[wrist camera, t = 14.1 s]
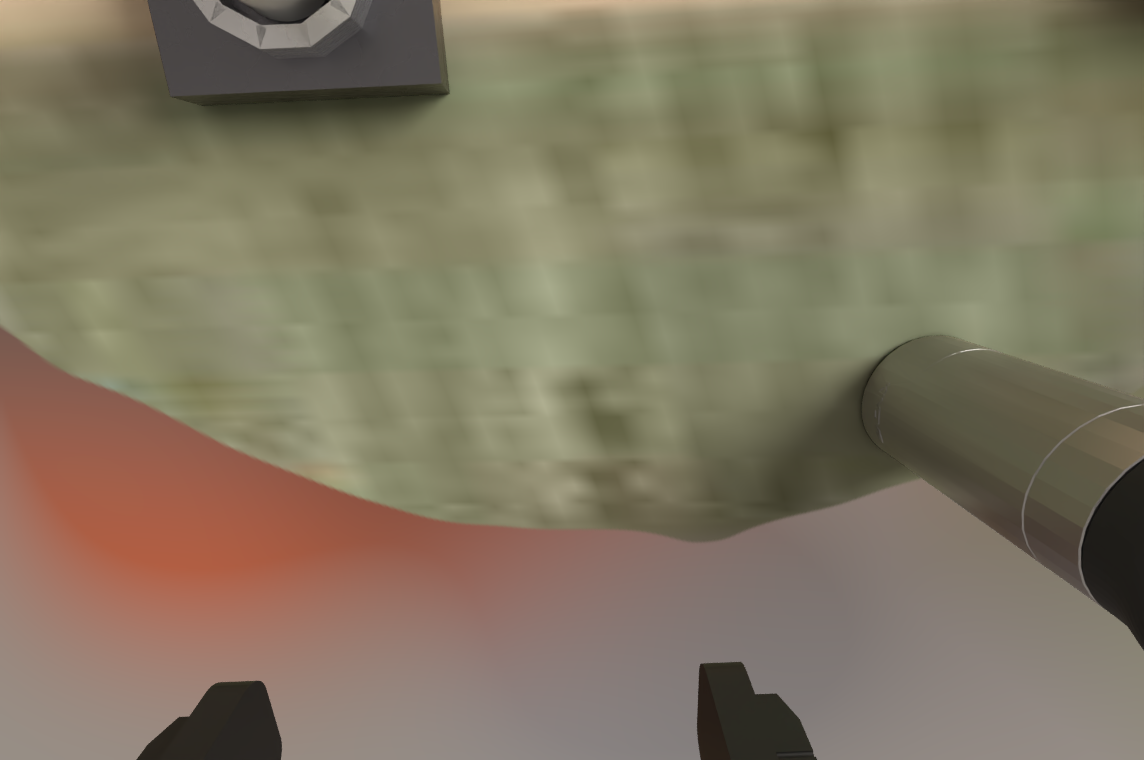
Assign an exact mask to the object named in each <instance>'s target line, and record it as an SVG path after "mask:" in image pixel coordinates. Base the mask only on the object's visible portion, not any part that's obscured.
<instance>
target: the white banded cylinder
mask: <svg viewBox="0 0 1144 760" xmlns="http://www.w3.org/2000/svg"><path fill="white" fill-rule="evenodd" d="M239 1H240V2H242V3H243V4H245V5H246V6H248V7H249V8H250V9H252V10H253V11H255V12H257V13H258V14H260V15H262V16H264V17H266V18H269V19H272V20H277V21H286V22H289V21H297V20H300V19H303V18H306V17H308V16H310V15H311V14H313V13H314V12H315V11H317V10H318V9H319V8H320V7H321V5H322V4H323V3H324V2H325V0H239Z"/></svg>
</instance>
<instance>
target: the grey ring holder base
mask: <svg viewBox="0 0 1144 760" xmlns="http://www.w3.org/2000/svg"><path fill="white" fill-rule="evenodd" d="M148 4H149V9H150V13H151V17H152V21H153V25H154V30H155V34H156V38H157V42H158V46H159V50H160V55H161V59H162V63H163V67H164V71H165V76H166V80H167V84H168V88H169V92H170V96H171V97H174V98H177V99H181V100H184V101H188V102H191V103H195V104H198V105H202V106H208V105H228V104H249V103H269V102H289V101H310V100H330V99H350V98H371V97H391V96H411V95H431V94H450V93H449V83H448V74H447V65H446V55H445V46H444V37H443V27H442V18H441V9H440V0H325V2H324V3H323V4H322V5H321V7H320V8H319V9H318V10H317V11H315V12H314V13H313V14H311V15H310V16H308V17H306V18H303V19H300V20H297V21H289V22H286V21H277V20H272V19H269V18H266V17H264V16H262V15H260V14H258V13H257V12H255V11H253V10H252V9H250V8H249V7H248V6H246V5H245V4H243V3H242V2H240V1H239V0H148Z"/></svg>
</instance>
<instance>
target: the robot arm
mask: <svg viewBox="0 0 1144 760" xmlns="http://www.w3.org/2000/svg"><path fill="white" fill-rule="evenodd" d="M862 419H863V423H864V427H865V429H866V431H867V433H868V435H869V437H870V439H871V440H872V441H873V442H874V443H875V444H876V445H877V446H878V447H879V448H881V449H882V450H883V451H885V452H886V453H888V454H889V455H890V456H892V457H893V458H895V459H896V460H897V461H899V462H900V463H901V464H903V465H904V466H906V467H907V468H908V469H910V470H911V471H912V472H914V473H915V474H916V475H918V476H919V477H920V478H922V479H923V480H925V481H926V482H927V483H929V484H930V485H932V486H933V487H934V488H936V489H937V490H939V491H940V492H941V493H943V494H944V495H946V496H947V497H948V498H950V499H951V500H953V501H954V502H955V503H957V504H958V505H960V506H961V507H962V508H964V509H965V510H967V511H968V512H969V513H971V514H972V515H973V516H975V517H976V518H978V519H979V520H980V521H982V522H983V523H985V524H986V525H988V526H989V527H990V528H992V529H993V530H995V531H996V532H997V533H999V534H1000V535H1001V536H1003V537H1004V538H1006V539H1007V540H1009V541H1010V542H1011V543H1013V544H1014V545H1015V546H1017V547H1018V548H1020V549H1021V550H1023V551H1024V552H1025V553H1027V554H1028V555H1029V556H1031V557H1032V558H1034V559H1035V560H1036V561H1038V562H1039V563H1041V564H1042V565H1043V566H1045V567H1046V568H1048V569H1049V570H1051V571H1052V572H1054V573H1055V574H1056V575H1058V576H1059V577H1060V578H1062V579H1063V580H1065V581H1066V582H1068V583H1069V584H1070V585H1072V586H1073V587H1074V588H1076V589H1077V590H1079V591H1080V592H1082V593H1083V594H1084V595H1086V596H1087V597H1088V598H1090V599H1091V600H1093V601H1094V602H1096V603H1097V604H1098V605H1100V606H1101V607H1103V608H1104V609H1106V610H1107V611H1109V612H1110V613H1111V614H1112V615H1114V616H1115V617H1117V618H1118V619H1119V620H1120V621H1122V622H1123V623H1124V624H1125V625H1127V626H1128V628H1129V629H1130V630H1131V632H1132V634H1133V635H1134V637H1135V638H1136V640H1137V641H1138V643H1139V644H1140V646H1141V647H1142V648H1143V650H1144V399H1142V398H1139V397H1136V396H1133V395H1130V394H1127V393H1124V392H1121V391H1118V390H1115V389H1112V388H1109V387H1106V386H1102V385H1099V384H1096V383H1093V382H1090V381H1087V380H1084V379H1081V378H1078V377H1075V376H1072V375H1068V374H1065V373H1062V372H1059V371H1056V370H1053V369H1050V368H1047V367H1044V366H1041V365H1038V364H1035V363H1031V362H1028V361H1025V360H1022V359H1019V358H1016V357H1013V356H1010V355H1007V354H1004V353H1001V352H998V351H995V350H992V349H989V348H986V347H983V346H980V345H977V344H974V343H971V342H968V341H964V340H961V339H958V338H955V337H950V336H943V335H936V336H926V337H922V338H918V339H915V340H912V341H910V342H908V343H906V344H904V345H902V346H900V347H899V348H897V349H896V350H894V351H893V352H892V353H890V354H889V355H888V356H887V357H886V358H885V359H884V360H883V361H882V362H881V363H880V364H879V365H878V366H877V368H876V369H875V371H874V372H873V374H872V375H871V377H870V379H869V381H868V383H867V386H866V388H865V390H864V395H863V400H862ZM697 715H698V716H697V734H698V744H699V751H700V757H701V760H817V759H816V757H814V754H813V749H812V747H811V745H810V742H809V740H808V738H807V736H806V733H805V731H804V728H803V726H802V724H801V722H800V719H799V718H798V717H797V716H796V715H795V714H794V712H793V711H792V710H791V709H790V708H789V707H788V706H787V705H786V704H785V703H784V702H783V700H782V699H781V698H780V697H779V696H778V695H777V694H755V693H754V690H753V688H752V686H751V682H750V680H749V677H748V674H747V671H746V669H745V667H744V665H743V664H742V663H741V662H729V663H706V664H705V663H704V664H700V668H699V689H698V714H697ZM281 752H282V743H281V737H280V734H279V731H278V727H277V724H276V721H275V717H274V714H273V710H272V707H271V703H270V700H269V696H268V693H267V690H266V687H265V685H264V684H263V682H261V681H245V682H244V681H243V682H220V683H216V684H214V685H213V686H211V687H210V688H209V689H208V691H207V692H206V693H205V695H204V696H203V698H202V699H201V700H200V702H199V703H198V705H197V706H196V708H195V709H194V711H193V712H192V714H191V715H190V716H189V717H179V718H177V719H176V720H175V721H174V722H173V723H172V724H171V725H169V726H168V727H167V728H166V729H165V730H164V731H163V732H162V733H161V734H159V735H158V736H157V737H156V738H155V739H154V740H152V741H151V742H150V743H149V744H148V745H147V746H146V748H145V749H144V750H143V752H142V753H141V754H140V756H139V757H138V759H137V760H281Z"/></svg>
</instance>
